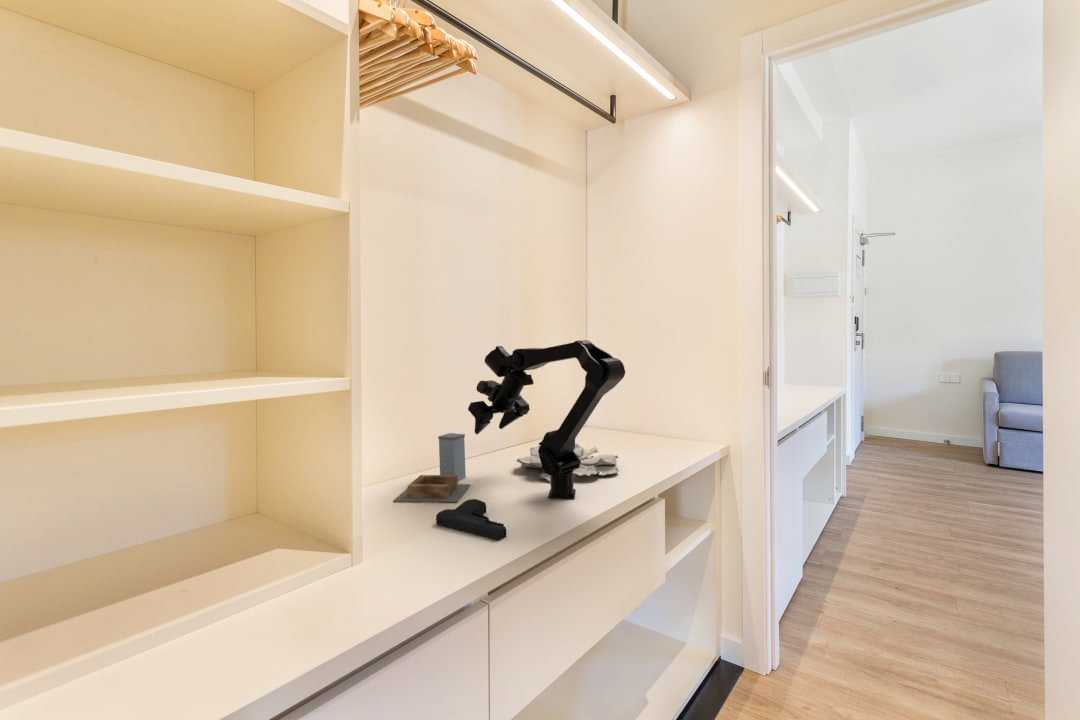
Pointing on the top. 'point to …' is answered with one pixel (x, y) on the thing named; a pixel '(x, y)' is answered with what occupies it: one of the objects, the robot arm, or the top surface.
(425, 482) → the brown square open frame
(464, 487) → the mat
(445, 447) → the tin
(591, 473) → the decorative wall flower
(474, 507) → the handgun
